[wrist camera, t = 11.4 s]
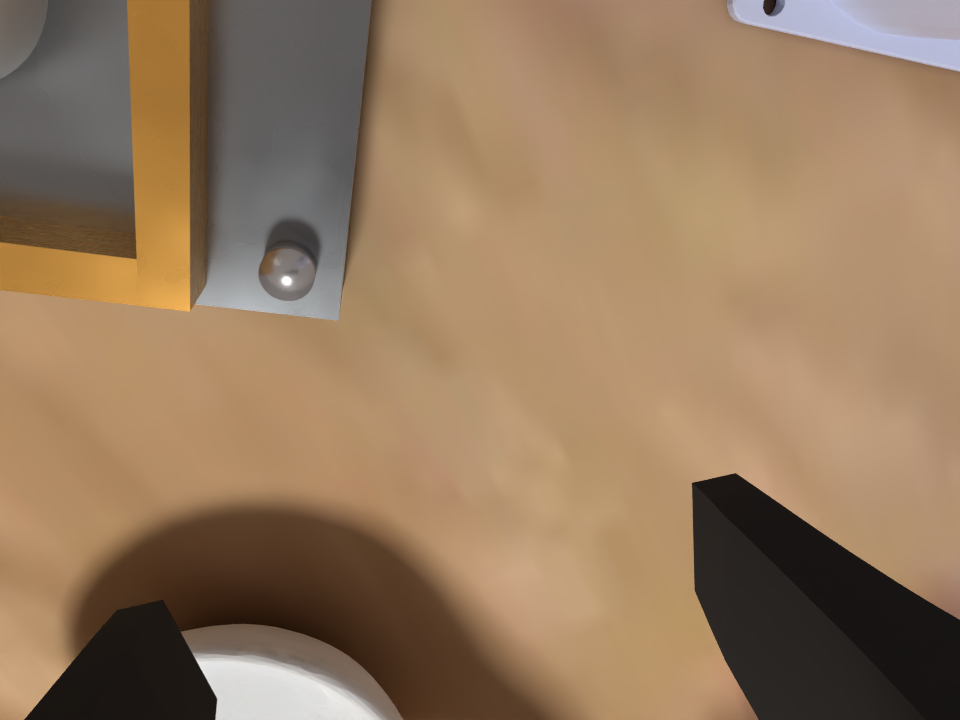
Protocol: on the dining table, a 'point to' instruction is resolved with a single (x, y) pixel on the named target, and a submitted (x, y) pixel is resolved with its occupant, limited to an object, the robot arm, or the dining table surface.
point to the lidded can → (19, 31)
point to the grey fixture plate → (184, 153)
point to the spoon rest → (284, 676)
